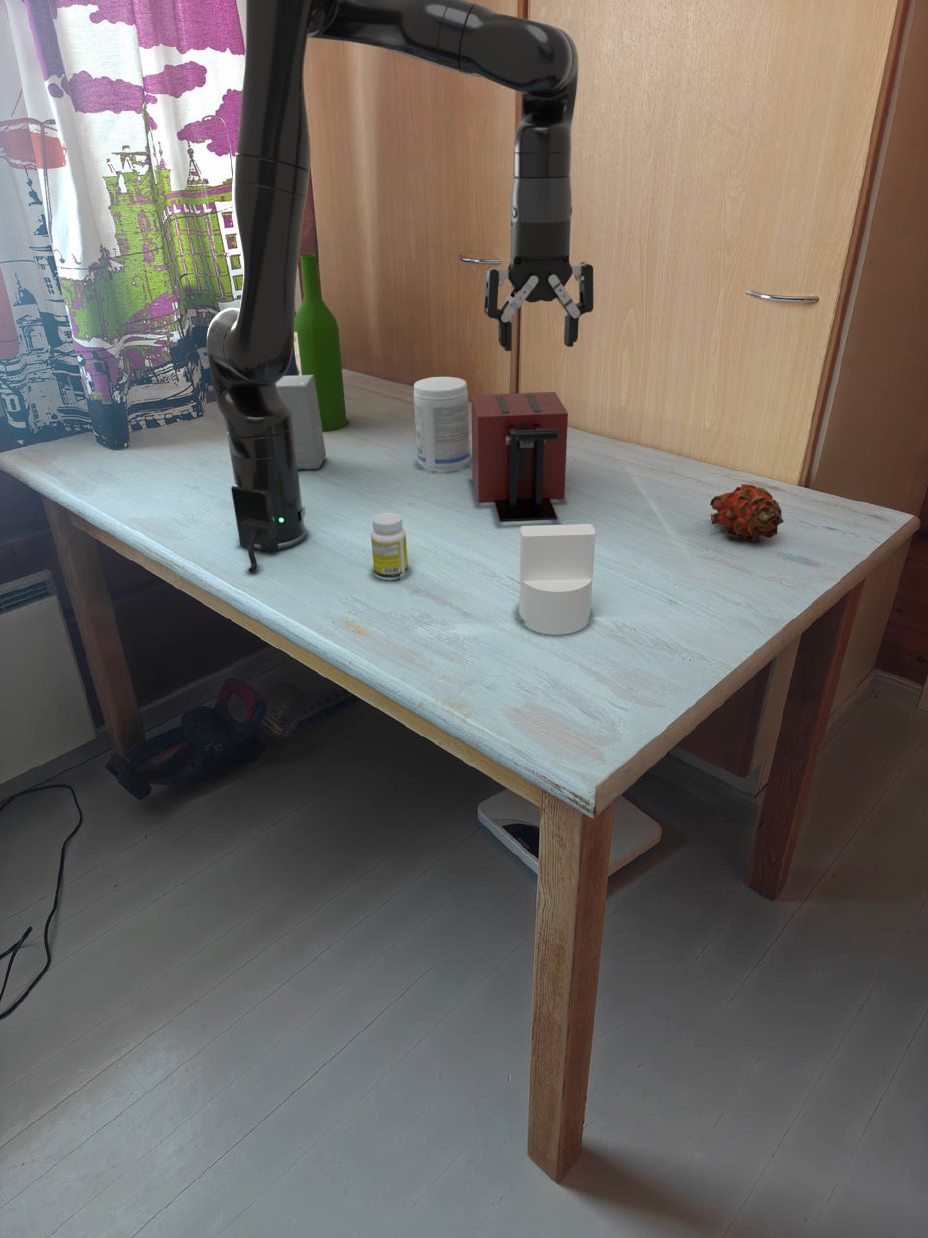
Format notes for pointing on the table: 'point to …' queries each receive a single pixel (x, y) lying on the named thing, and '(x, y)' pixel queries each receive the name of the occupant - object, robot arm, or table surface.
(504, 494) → the toaster
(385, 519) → the supplement bottle
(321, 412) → the wine bottle
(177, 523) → the table surface
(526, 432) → the lever
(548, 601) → the cylinder with rectangular tab
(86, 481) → the table surface
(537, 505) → the lever bracket
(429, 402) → the supplement tub
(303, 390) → the cosmetic box
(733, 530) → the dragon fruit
